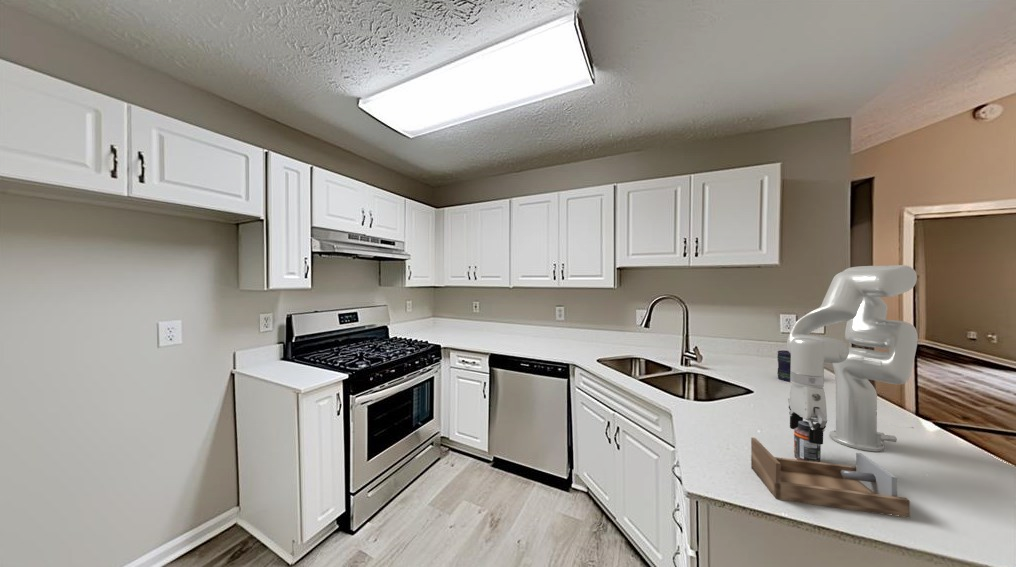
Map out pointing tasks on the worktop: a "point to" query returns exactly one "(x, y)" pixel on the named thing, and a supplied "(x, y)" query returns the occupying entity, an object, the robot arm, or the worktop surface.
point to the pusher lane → (820, 484)
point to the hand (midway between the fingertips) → (805, 435)
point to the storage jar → (784, 365)
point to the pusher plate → (872, 476)
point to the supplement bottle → (805, 444)
